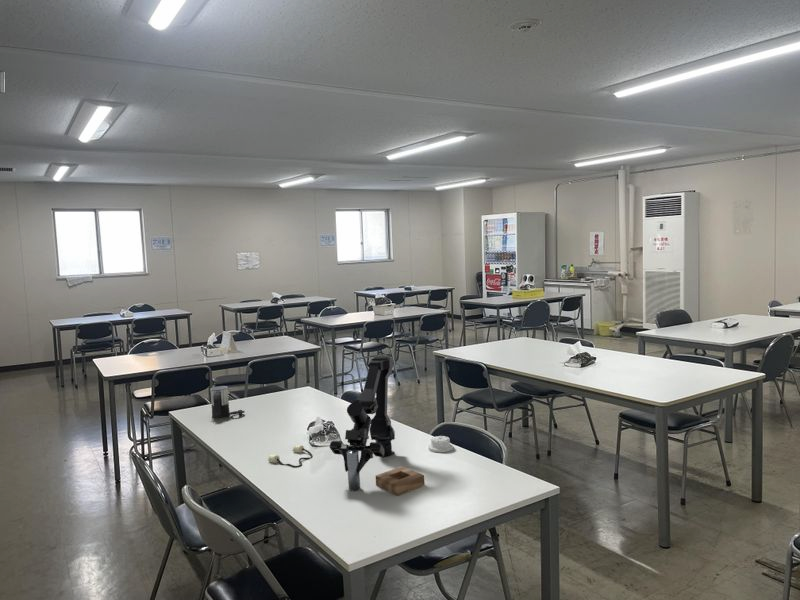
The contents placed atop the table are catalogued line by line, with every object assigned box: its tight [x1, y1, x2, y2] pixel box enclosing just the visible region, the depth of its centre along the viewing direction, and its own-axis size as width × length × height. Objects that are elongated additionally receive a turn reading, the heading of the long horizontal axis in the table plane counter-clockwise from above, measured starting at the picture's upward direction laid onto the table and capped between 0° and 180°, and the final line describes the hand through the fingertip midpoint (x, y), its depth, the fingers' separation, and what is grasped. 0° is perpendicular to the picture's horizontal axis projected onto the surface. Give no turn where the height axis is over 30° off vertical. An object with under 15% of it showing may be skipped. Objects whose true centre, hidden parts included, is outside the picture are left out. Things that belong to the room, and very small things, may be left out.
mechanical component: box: [427, 435, 454, 453], centre depth 235 cm, size 10×4×10 cm
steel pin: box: [347, 450, 361, 492], centre depth 198 cm, size 4×4×13 cm
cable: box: [267, 444, 313, 469], centre depth 231 cm, size 16×16×4 cm
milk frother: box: [209, 385, 245, 419], centre depth 299 cm, size 14×16×15 cm
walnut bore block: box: [375, 465, 426, 496], centre depth 200 cm, size 12×12×4 cm
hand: (352, 471), depth 197 cm, fingers closed on steel pin, 4 cm apart
